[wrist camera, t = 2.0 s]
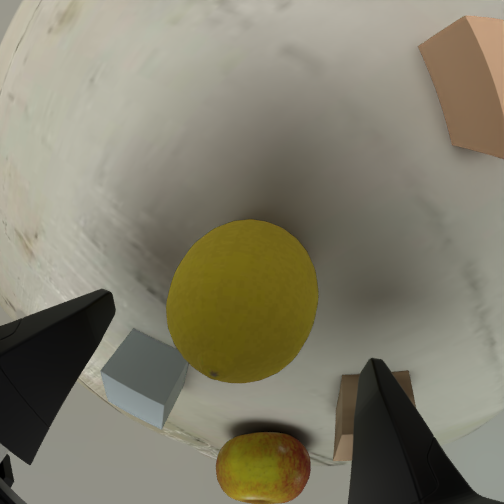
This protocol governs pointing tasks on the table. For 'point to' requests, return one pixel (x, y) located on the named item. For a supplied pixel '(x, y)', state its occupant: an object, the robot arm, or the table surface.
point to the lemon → (242, 301)
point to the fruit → (263, 468)
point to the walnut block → (347, 411)
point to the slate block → (145, 377)
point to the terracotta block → (470, 81)
